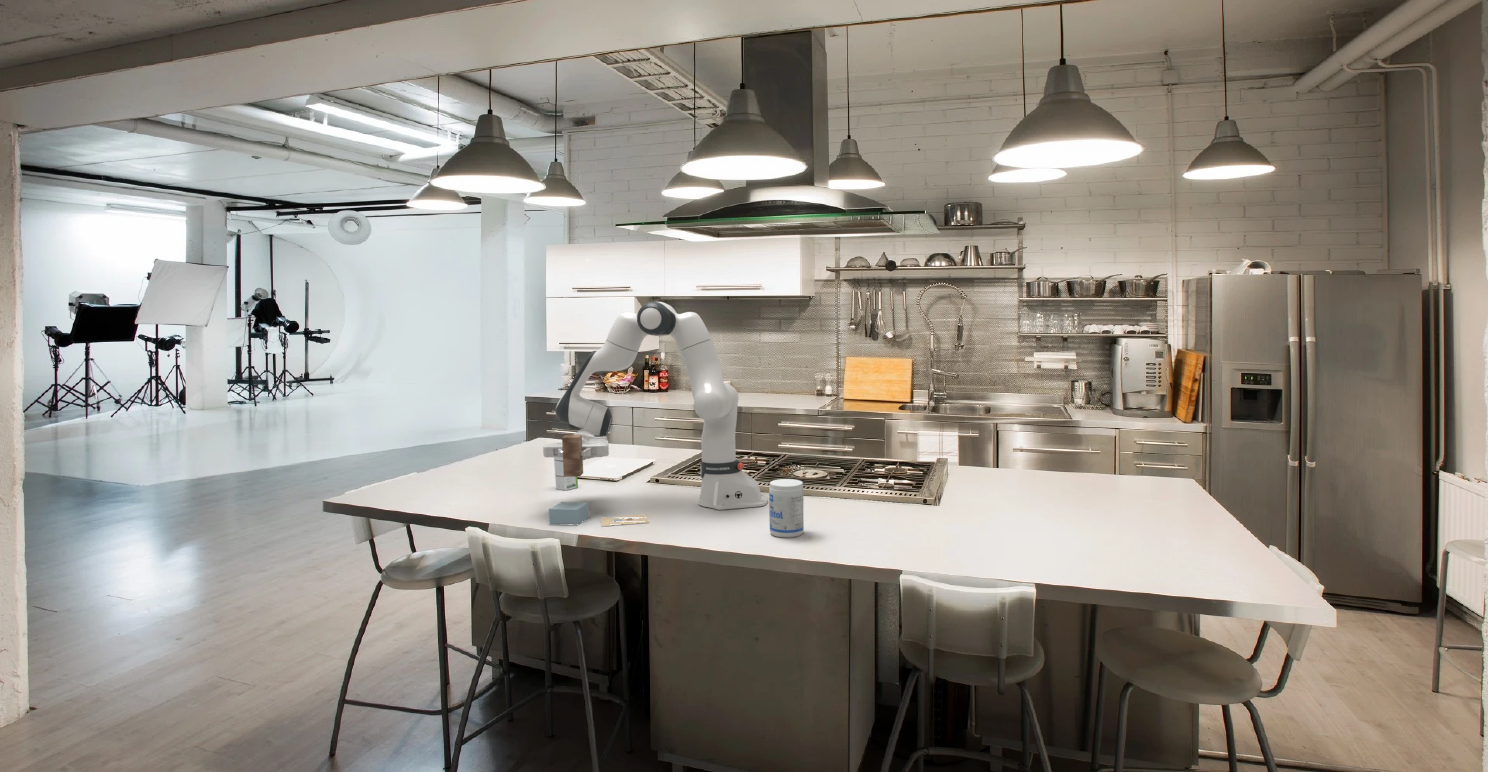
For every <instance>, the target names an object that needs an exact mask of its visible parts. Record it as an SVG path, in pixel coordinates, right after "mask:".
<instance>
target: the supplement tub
mask: <svg viewBox="0 0 1488 772" xmlns="http://www.w3.org/2000/svg"><path fill="white" fill-rule="evenodd" d="M803 484H804V482H803V481H802V480H799V479H793V478H781V479H779V478H778V479H774V480H772V481H770V482H769V489H768V490H769V492H768V496H769V497H768V499H769V501H768V503H769V505H768V507H769V517H768V518H769V533H770V534H771V535H772V536H773V537H777V538H785V539H787V538H788V539H789V538H790V539H791V538H796V537H799V536H801V535H802V534H803V533H804V527H805V526H804V521H805V520H804V485H803Z"/></svg>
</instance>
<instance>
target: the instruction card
mask: <svg viewBox="0 0 1488 772" xmlns="http://www.w3.org/2000/svg"><path fill="white" fill-rule="evenodd" d="M604 517H605V516H604ZM607 517H608V516H606V517H605V518H603V517H600V523H601V525H602V526H605V527H613V526H612V525H610V524H630V525H638V524H637V523H640V522H635V523H634V522H624V523H623V522H622V523H621V522H616V521H645V522H641V523H643V524H650V521H649V519H648V515H647V514H646V515H642V514H632V515H631V514H630V515H618V516H617V515H615V517H643V518H639V519H634V518H633V519H632V518H628V519H624V518H622V519H619V518H607ZM644 517H647V518H644ZM613 521H614V522H613ZM648 521H649V522H648ZM601 525H600V526H601ZM602 526H601V527H602Z"/></svg>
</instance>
